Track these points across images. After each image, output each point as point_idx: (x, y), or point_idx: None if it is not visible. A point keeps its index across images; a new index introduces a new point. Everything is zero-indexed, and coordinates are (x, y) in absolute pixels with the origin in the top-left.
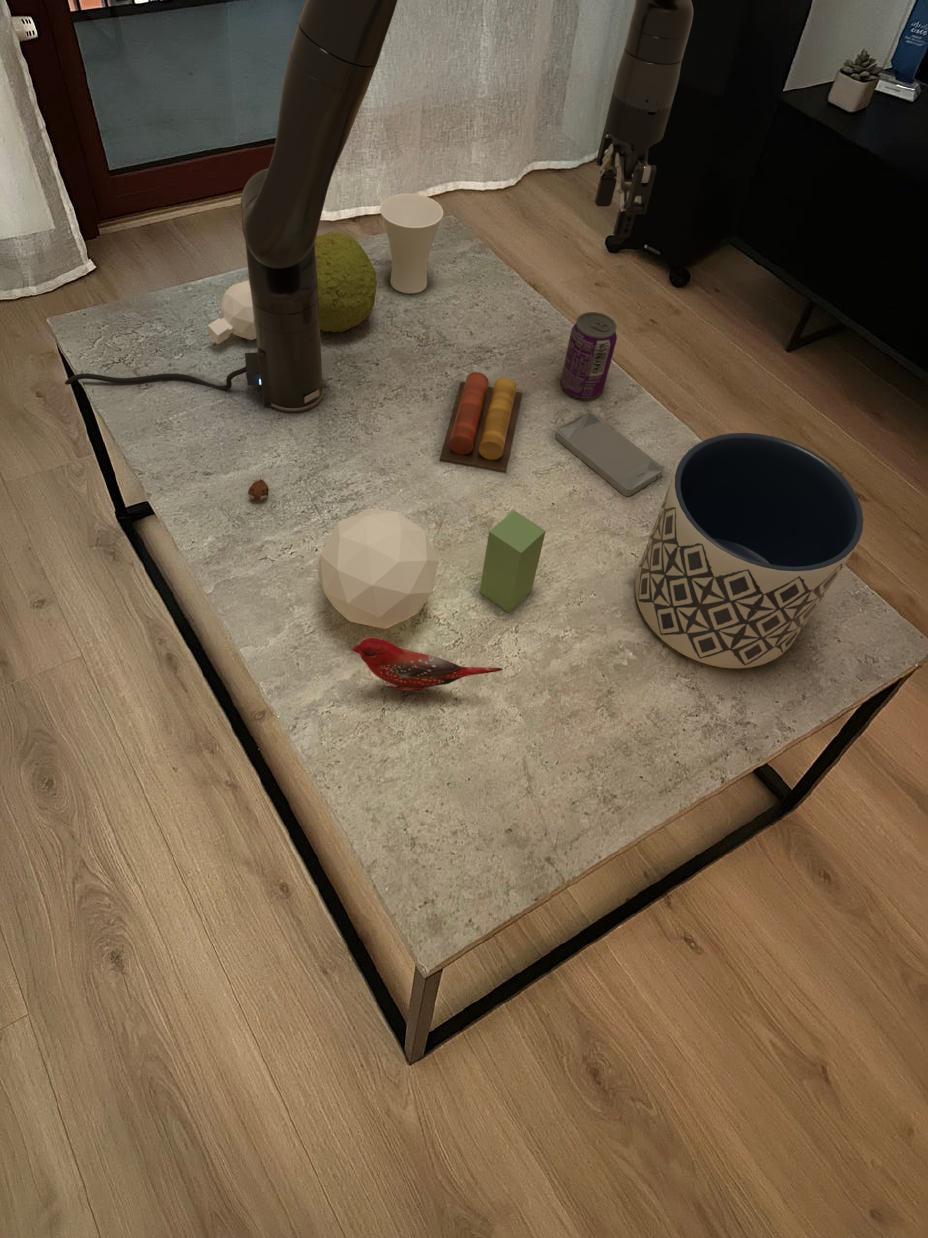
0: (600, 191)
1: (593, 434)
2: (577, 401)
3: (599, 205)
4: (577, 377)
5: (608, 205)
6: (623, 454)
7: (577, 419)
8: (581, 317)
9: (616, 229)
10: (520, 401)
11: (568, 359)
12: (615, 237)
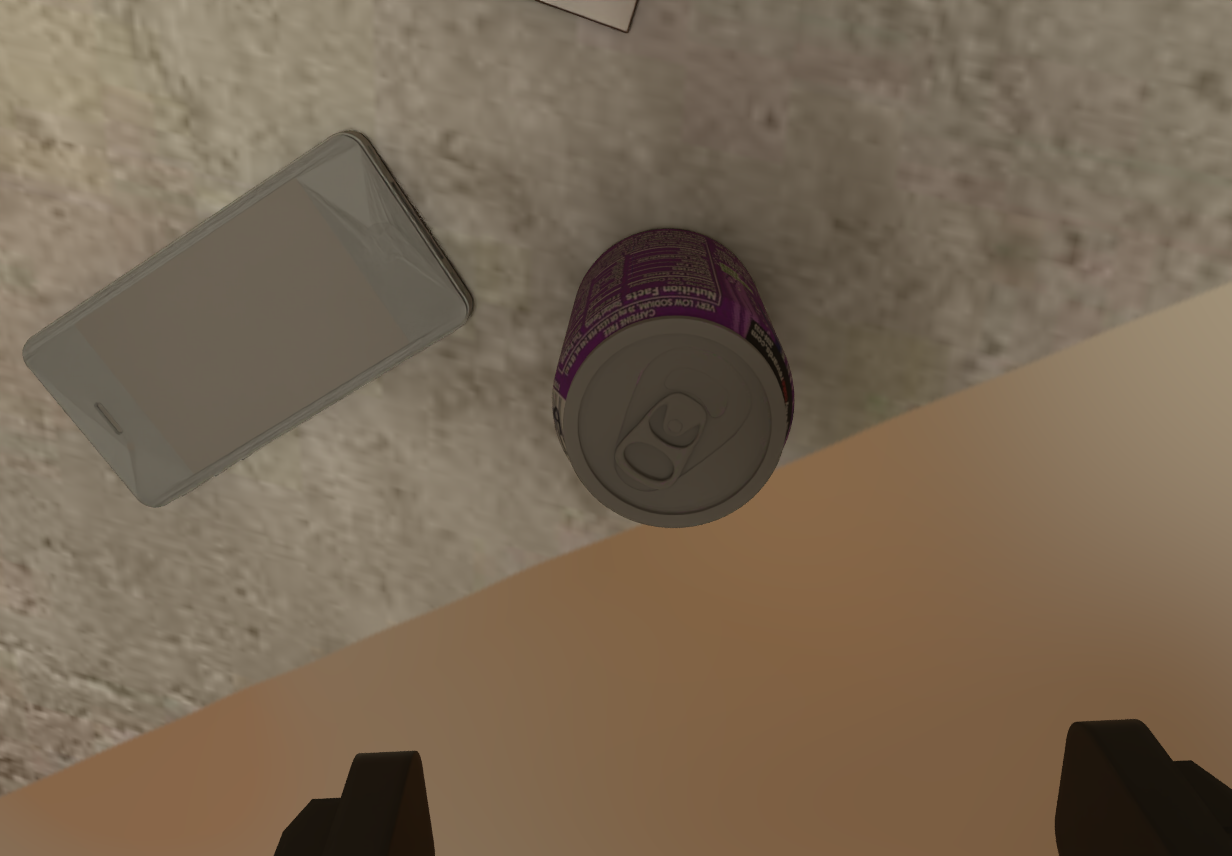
0: (1153, 848)
1: (327, 290)
2: (579, 280)
3: (1065, 747)
4: (586, 287)
5: (1055, 833)
6: (216, 381)
7: (419, 244)
8: (742, 359)
9: (336, 812)
10: (567, 10)
11: (650, 259)
12: (361, 755)
